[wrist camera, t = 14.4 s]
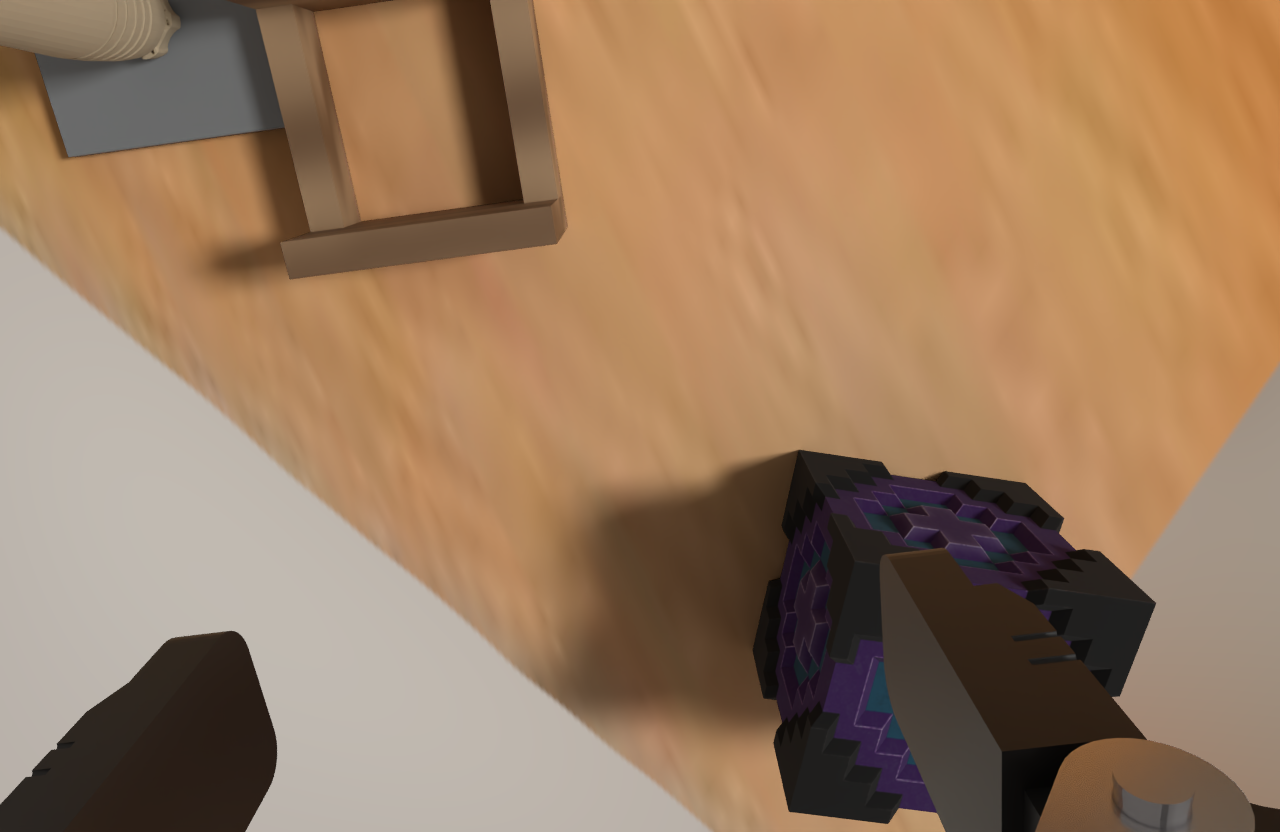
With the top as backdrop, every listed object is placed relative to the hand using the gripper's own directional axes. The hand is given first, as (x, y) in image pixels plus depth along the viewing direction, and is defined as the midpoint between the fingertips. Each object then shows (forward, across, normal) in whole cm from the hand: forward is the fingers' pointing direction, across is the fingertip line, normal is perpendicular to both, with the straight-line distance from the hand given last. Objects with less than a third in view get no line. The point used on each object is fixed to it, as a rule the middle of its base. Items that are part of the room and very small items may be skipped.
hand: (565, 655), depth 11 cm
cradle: (+32, +8, -8) cm, 34 cm away
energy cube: (+32, -12, +18) cm, 39 cm away
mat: (+32, +18, -13) cm, 39 cm away
